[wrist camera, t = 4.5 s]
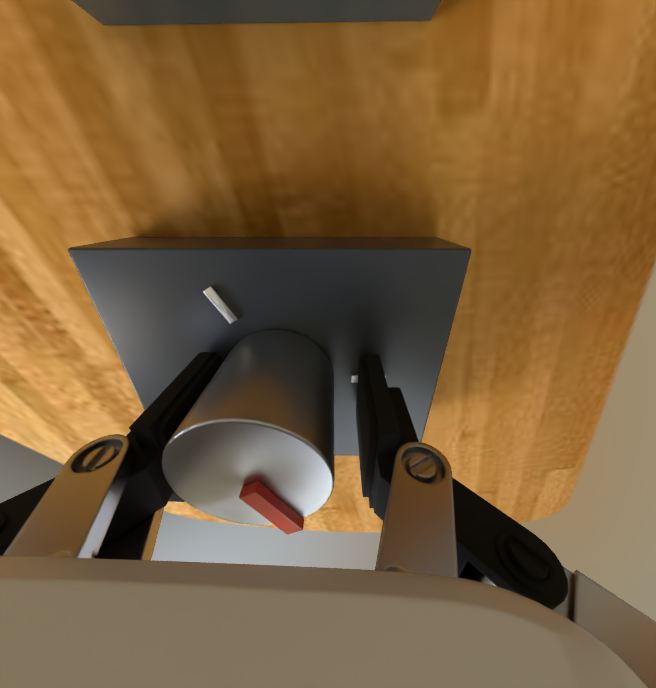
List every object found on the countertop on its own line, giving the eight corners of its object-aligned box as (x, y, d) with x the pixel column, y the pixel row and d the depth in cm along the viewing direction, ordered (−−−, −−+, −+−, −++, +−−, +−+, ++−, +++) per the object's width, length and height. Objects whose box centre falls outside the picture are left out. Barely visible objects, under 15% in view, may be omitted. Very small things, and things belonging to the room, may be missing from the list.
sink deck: (192, 411, 16) (162, 455, 13) (130, 236, 11) (60, 248, 8) (403, 413, 15) (418, 460, 13) (438, 237, 10) (475, 249, 8)
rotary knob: (203, 360, 10) (111, 473, 6) (293, 307, 9) (258, 401, 5) (271, 428, 12) (236, 550, 8) (353, 391, 11) (365, 512, 7)
